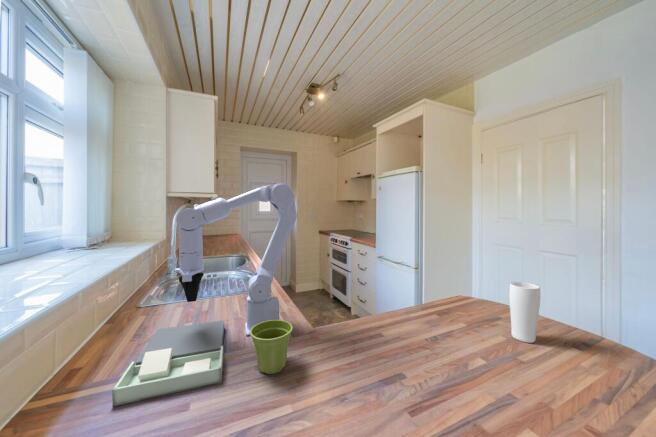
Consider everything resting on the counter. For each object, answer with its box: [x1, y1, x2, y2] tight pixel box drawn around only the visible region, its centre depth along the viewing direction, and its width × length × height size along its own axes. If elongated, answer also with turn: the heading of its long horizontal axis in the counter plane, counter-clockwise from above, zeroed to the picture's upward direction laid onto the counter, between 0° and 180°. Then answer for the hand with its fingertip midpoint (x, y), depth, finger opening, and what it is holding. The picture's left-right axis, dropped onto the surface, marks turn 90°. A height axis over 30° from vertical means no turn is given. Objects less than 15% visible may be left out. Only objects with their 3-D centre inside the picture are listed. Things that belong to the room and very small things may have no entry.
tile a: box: [181, 358, 211, 375], centre depth 52 cm, size 5×5×2 cm
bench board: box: [135, 319, 225, 366], centre depth 64 cm, size 17×16×2 cm
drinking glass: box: [508, 281, 541, 344], centre depth 68 cm, size 7×7×15 cm
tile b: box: [138, 348, 173, 381], centre depth 53 cm, size 5×5×2 cm
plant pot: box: [249, 319, 293, 375], centre depth 56 cm, size 9×9×9 cm
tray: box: [111, 345, 224, 407], centre depth 52 cm, size 18×9×3 cm, turn 110°
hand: (192, 300), depth 68 cm, fingers closed
